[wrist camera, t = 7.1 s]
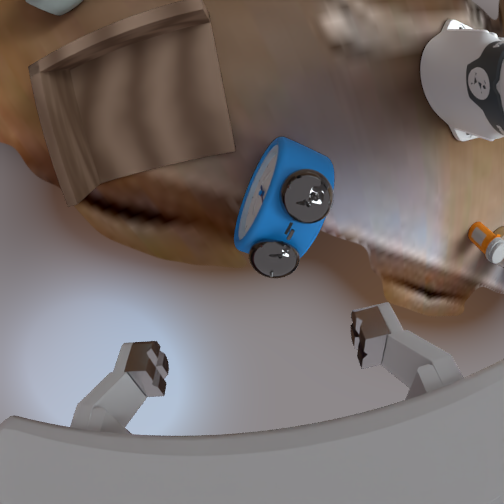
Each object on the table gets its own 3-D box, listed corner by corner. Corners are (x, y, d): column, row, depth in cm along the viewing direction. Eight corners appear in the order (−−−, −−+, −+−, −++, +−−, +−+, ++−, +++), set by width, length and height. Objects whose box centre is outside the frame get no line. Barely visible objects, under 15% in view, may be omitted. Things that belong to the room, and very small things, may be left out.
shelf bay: (209, 13, 27) (200, -4, 20) (235, 149, 36) (234, 167, 29) (63, 64, 28) (28, 66, 21) (94, 183, 37) (68, 207, 31)
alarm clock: (274, 126, 35) (294, 155, 22) (318, 146, 36) (360, 187, 23) (233, 215, 41) (230, 284, 28) (275, 230, 42) (289, 302, 30)
